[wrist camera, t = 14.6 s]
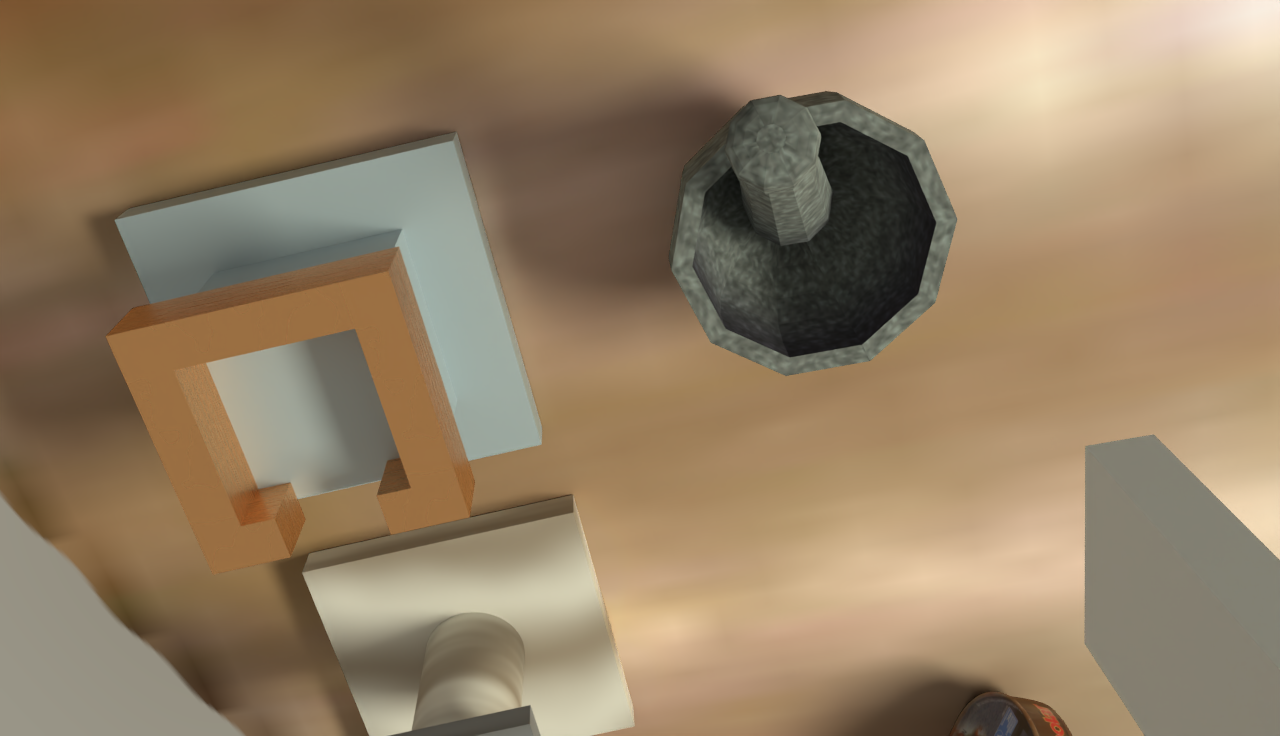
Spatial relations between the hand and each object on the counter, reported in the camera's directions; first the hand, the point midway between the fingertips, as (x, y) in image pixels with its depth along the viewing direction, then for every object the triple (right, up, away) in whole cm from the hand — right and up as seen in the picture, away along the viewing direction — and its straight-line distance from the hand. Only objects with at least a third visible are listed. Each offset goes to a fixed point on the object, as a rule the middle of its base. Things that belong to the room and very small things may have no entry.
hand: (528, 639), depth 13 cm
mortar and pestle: (+6, +11, +32) cm, 34 cm away
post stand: (-6, -9, +40) cm, 41 cm away
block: (-11, +5, +33) cm, 35 cm away
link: (-10, +2, +27) cm, 29 cm away
